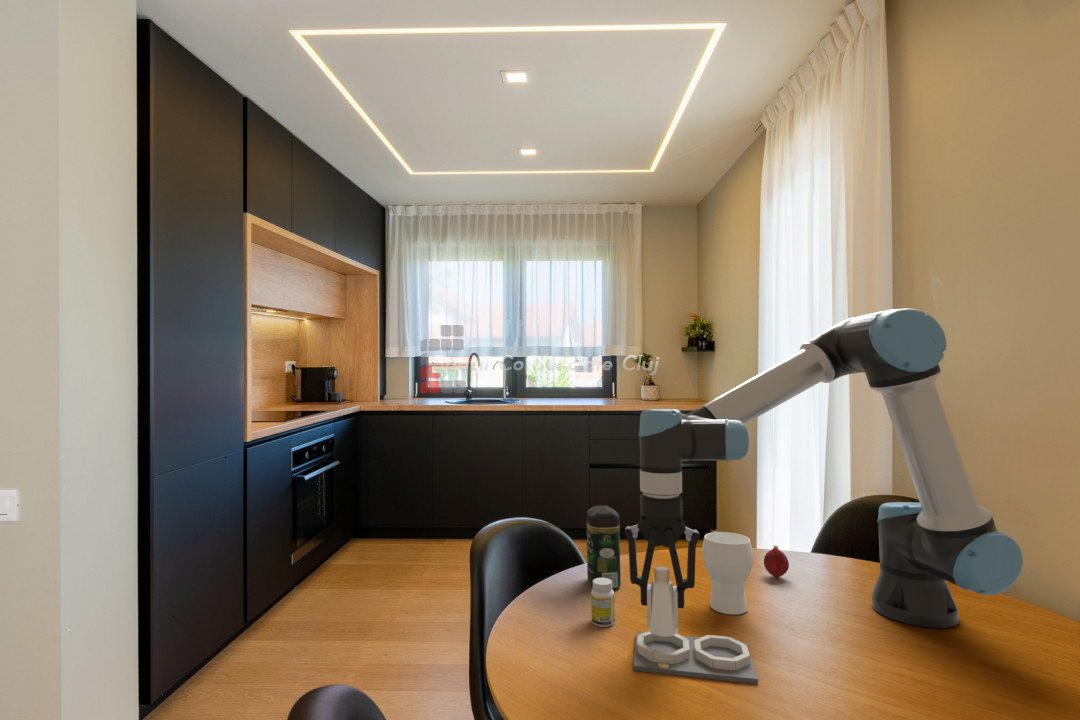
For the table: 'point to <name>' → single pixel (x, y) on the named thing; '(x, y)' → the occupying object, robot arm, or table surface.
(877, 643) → the table surface
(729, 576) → the cup
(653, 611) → the pepper shaker
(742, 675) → the collar board
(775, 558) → the onion
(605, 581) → the supplement bottle
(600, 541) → the coffee jar
